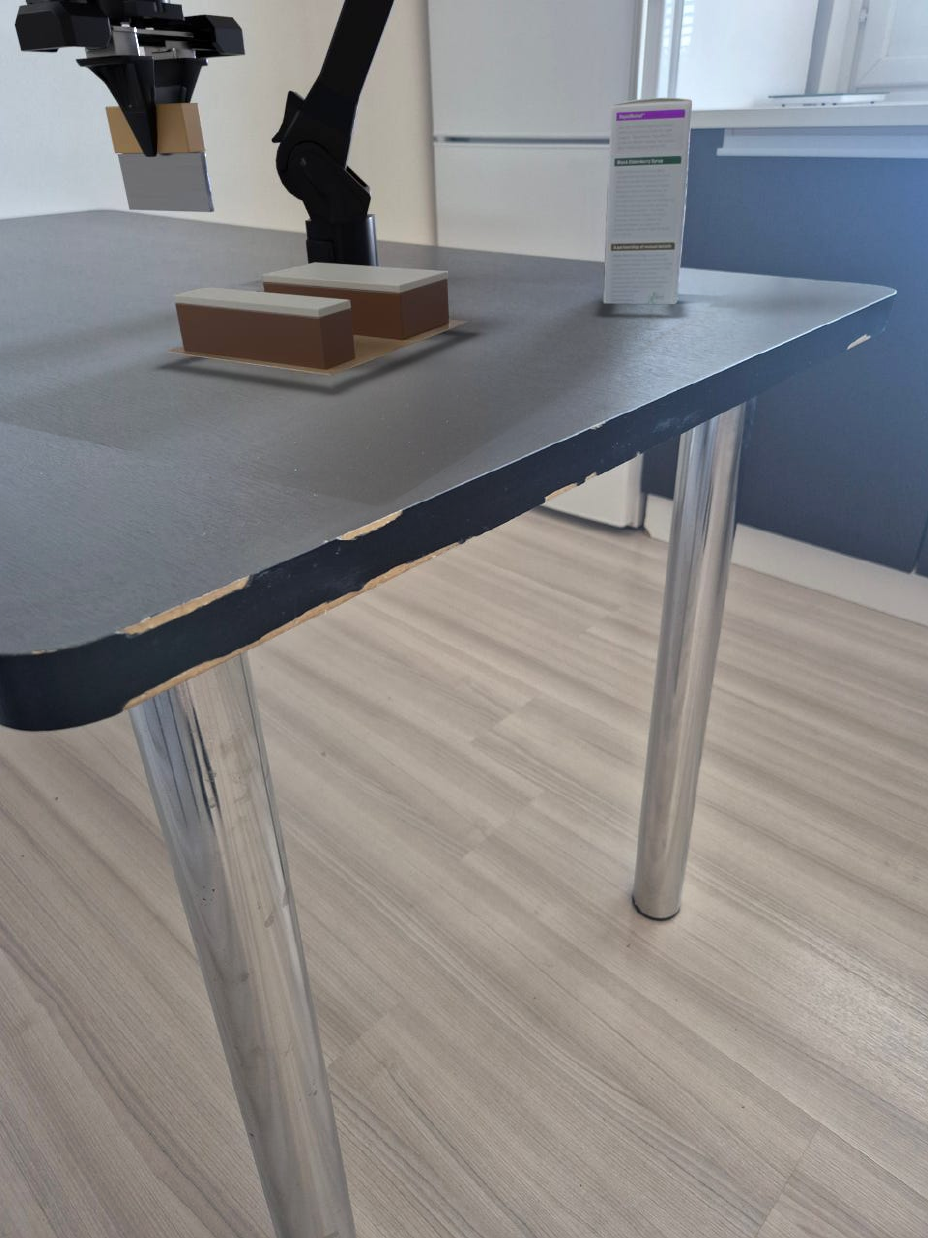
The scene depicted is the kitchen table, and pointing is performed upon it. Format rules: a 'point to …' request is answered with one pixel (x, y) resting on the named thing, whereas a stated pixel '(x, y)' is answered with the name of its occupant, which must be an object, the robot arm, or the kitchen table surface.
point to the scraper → (164, 161)
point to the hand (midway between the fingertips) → (161, 155)
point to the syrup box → (646, 200)
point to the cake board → (364, 352)
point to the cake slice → (266, 326)
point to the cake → (372, 295)
